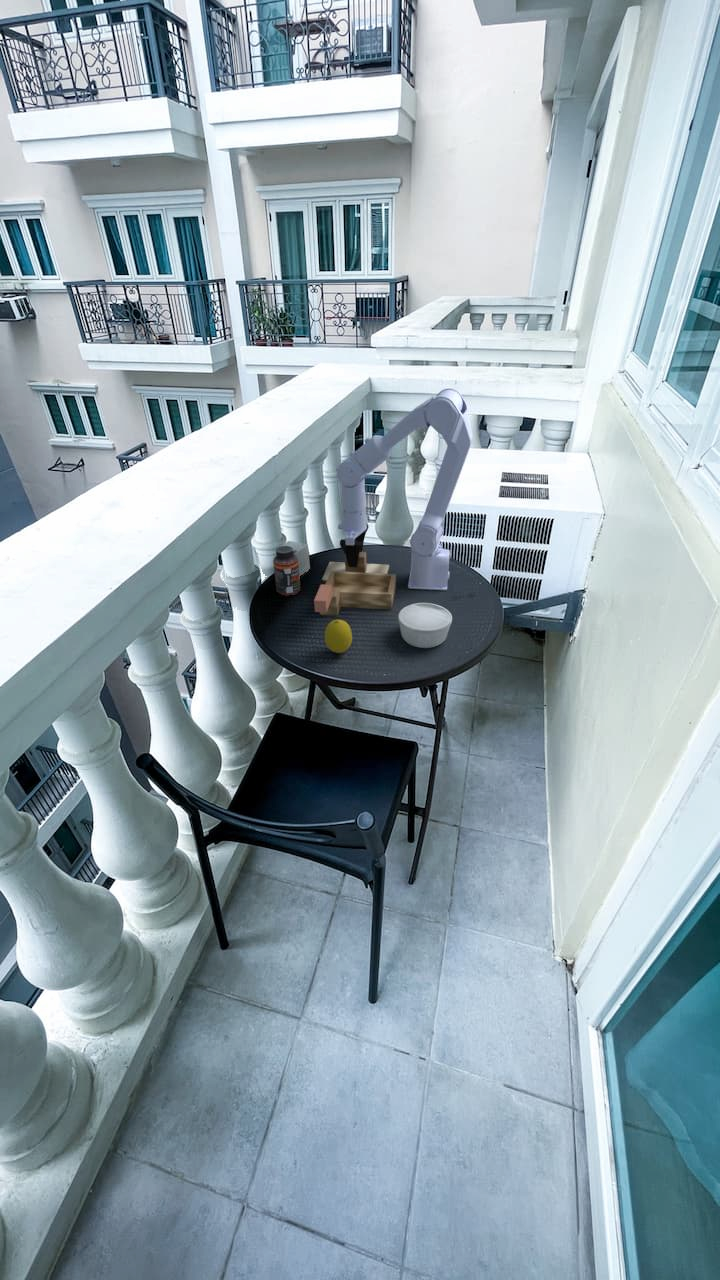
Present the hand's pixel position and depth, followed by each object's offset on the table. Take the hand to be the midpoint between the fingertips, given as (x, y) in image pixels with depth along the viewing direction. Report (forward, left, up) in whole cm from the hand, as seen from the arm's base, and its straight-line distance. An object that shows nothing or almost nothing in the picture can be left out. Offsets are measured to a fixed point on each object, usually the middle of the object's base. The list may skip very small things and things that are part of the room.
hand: (355, 559), depth 139 cm
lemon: (-2, +35, -4) cm, 35 cm away
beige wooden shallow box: (-3, +14, -4) cm, 15 cm away
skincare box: (+16, +1, -4) cm, 17 cm away
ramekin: (-19, +27, -4) cm, 33 cm away
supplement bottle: (+15, +11, -4) cm, 19 cm away
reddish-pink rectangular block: (+3, +25, +1) cm, 25 cm away
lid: (0, 0, -4) cm, 5 cm away
